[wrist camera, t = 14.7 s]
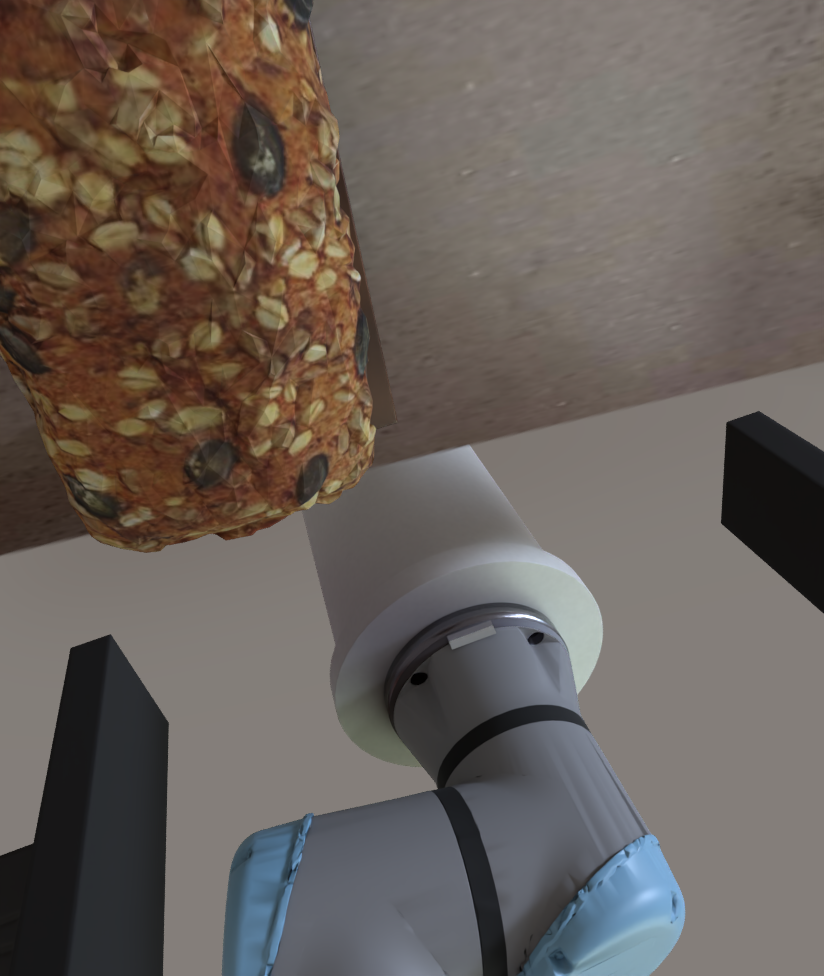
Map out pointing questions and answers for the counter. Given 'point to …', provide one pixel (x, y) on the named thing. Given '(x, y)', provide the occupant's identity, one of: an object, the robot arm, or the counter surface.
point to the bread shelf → (376, 366)
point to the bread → (179, 264)
